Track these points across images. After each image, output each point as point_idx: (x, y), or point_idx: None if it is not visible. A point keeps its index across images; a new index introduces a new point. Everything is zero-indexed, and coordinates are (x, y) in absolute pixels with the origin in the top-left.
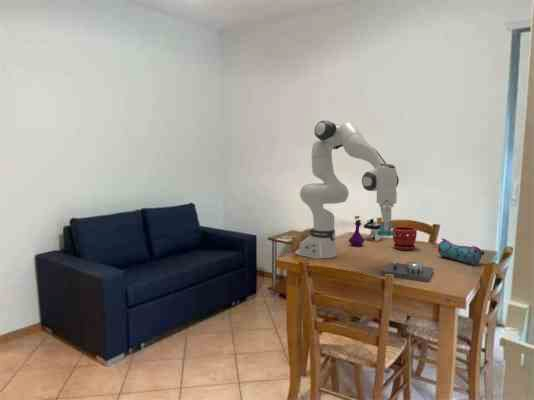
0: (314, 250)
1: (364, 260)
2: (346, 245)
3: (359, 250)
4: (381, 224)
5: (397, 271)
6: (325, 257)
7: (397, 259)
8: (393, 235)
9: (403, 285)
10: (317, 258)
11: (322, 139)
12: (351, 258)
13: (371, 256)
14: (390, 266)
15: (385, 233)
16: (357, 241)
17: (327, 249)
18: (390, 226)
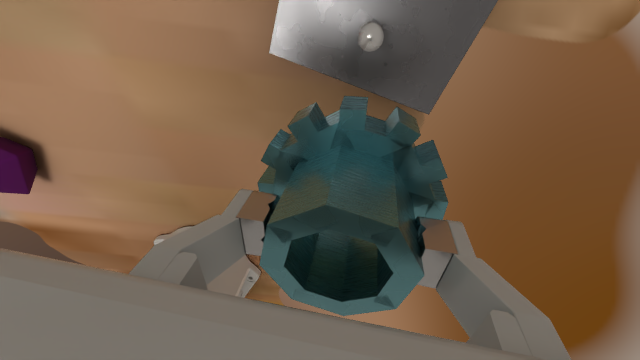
0: (241, 295)
1: (222, 148)
2: (50, 186)
3: (87, 151)
4: (370, 309)
5: (446, 29)
6: (245, 256)
7: (377, 24)
8: (411, 116)
9: (617, 13)
10: (260, 272)
11: None
12: (214, 188)
13: (148, 114)
14: (351, 57)
15: (442, 214)
16: (18, 165)
17: (226, 272)
18: (398, 211)
